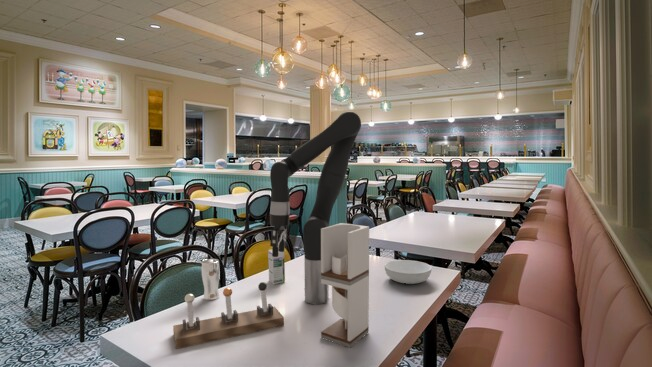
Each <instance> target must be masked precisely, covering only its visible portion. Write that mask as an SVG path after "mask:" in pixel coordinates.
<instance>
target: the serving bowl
mask: <svg viewBox="0 0 652 367" xmlns="http://www.w3.org/2000/svg"><path fill="white" fill-rule="evenodd" d="M432 268H433V267H432V266H431V265H430V264H428V263H426V262H422V261H418V260H412V259H411V260H409V259H398V260H397V259H395V260H391V261H390V260H389V261H388V262H385V264H384V271H385V275H387V276H388V277H389V279H391V280H393V281H395V282H397V283H401V284H404V283H406V284H405V285H413V284H419V283H423V282H426V280H428V279H429V277H430V276H431V274H432Z"/></svg>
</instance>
